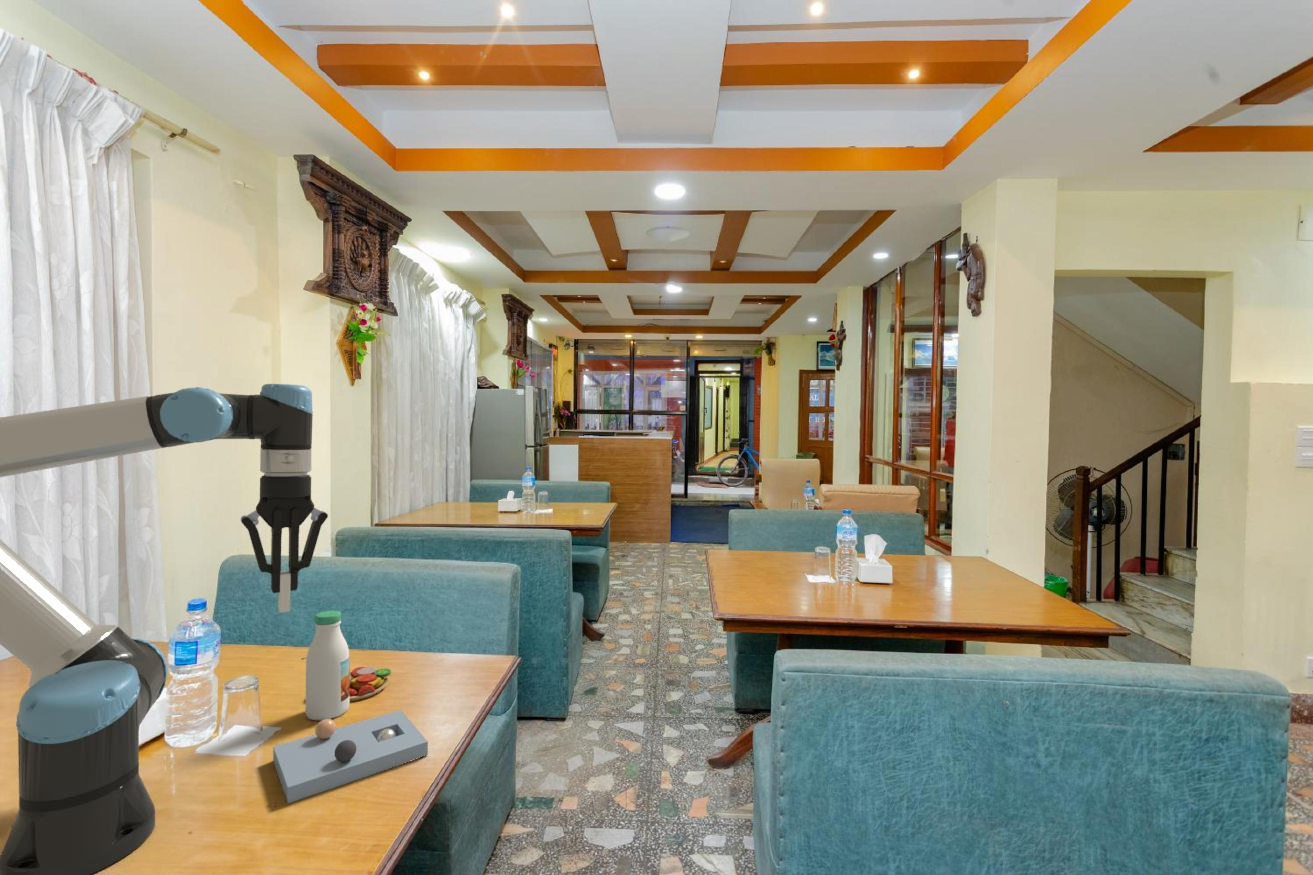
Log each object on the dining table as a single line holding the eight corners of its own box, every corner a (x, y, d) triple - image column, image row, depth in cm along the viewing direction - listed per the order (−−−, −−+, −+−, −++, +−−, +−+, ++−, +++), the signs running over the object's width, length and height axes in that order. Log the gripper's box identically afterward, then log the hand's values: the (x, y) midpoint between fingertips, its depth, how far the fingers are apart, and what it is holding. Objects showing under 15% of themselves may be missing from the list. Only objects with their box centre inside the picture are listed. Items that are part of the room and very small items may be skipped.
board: (287, 803, 90) (287, 787, 90) (273, 760, 102) (273, 746, 102) (427, 755, 104) (427, 741, 104) (400, 722, 115) (400, 709, 115)
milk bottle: (330, 723, 114) (330, 620, 114) (296, 719, 116) (296, 617, 116) (358, 705, 122) (358, 608, 122) (325, 701, 124) (325, 606, 123)
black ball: (337, 768, 95) (337, 748, 95) (332, 759, 98) (332, 740, 98) (358, 761, 97) (358, 741, 97) (353, 752, 100) (353, 734, 100)
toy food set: (306, 701, 124) (306, 686, 124) (348, 675, 137) (348, 661, 137) (364, 706, 122) (364, 691, 122) (401, 679, 135) (401, 665, 135)
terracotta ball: (317, 744, 102) (317, 726, 102) (313, 737, 105) (313, 719, 105) (337, 738, 104) (337, 720, 104) (333, 731, 107) (333, 713, 107)
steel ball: (378, 738, 104) (396, 729, 106) (373, 731, 106) (391, 722, 108) (381, 755, 104) (400, 745, 106) (376, 747, 107) (394, 738, 109)
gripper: (241, 476, 95) (239, 622, 95) (332, 474, 103) (330, 609, 104) (238, 473, 101) (236, 611, 101) (325, 471, 109) (322, 599, 109)
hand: (284, 609), depth 102 cm, fingers closed
